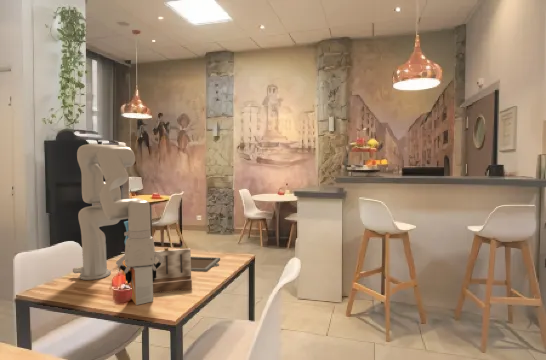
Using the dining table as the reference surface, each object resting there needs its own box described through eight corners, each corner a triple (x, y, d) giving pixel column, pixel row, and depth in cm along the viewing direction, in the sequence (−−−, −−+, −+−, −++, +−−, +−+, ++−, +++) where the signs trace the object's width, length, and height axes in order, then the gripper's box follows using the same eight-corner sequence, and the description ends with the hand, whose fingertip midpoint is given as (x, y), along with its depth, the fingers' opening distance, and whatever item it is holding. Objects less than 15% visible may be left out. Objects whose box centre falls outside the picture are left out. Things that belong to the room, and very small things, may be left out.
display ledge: (138, 294, 132) (137, 258, 131) (143, 282, 146) (141, 249, 145) (191, 289, 137) (190, 254, 136) (191, 277, 151) (190, 246, 150)
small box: (130, 298, 128) (129, 264, 127) (147, 294, 132) (146, 261, 131) (135, 305, 122) (134, 269, 121) (153, 301, 125) (152, 266, 124)
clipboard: (171, 255, 183) (225, 257, 177) (171, 258, 183) (225, 260, 178) (152, 266, 164) (212, 269, 159) (152, 270, 164) (212, 272, 159)
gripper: (111, 238, 119) (113, 287, 120) (164, 234, 124) (165, 282, 125) (116, 233, 127) (117, 280, 128) (165, 230, 131) (166, 275, 132)
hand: (141, 281), depth 126 cm, fingers closed on small box, 7 cm apart
